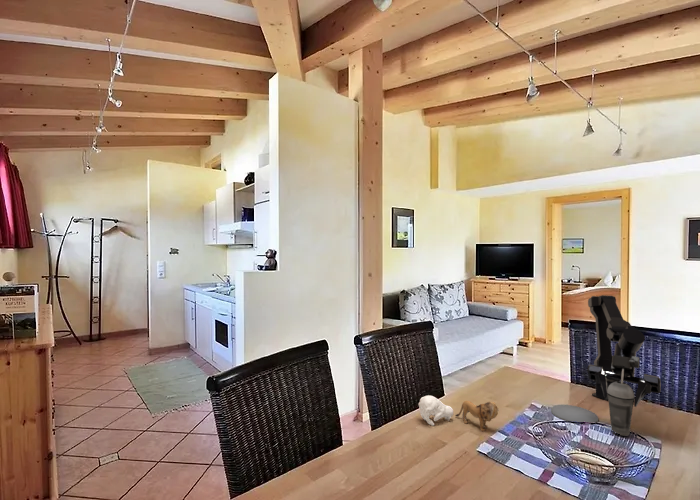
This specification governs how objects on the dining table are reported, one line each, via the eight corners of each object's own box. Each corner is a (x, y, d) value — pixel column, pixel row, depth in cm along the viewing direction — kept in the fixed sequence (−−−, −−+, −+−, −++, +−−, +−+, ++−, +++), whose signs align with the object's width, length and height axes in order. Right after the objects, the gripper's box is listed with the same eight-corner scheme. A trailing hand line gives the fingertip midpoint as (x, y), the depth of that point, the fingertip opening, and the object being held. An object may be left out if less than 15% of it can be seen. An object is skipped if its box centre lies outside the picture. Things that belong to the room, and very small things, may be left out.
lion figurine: (501, 429, 120) (501, 401, 120) (493, 435, 116) (494, 406, 116) (459, 415, 131) (459, 389, 131) (450, 420, 127) (451, 393, 127)
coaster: (566, 404, 141) (566, 401, 141) (606, 418, 128) (606, 416, 128) (542, 411, 134) (542, 409, 134) (583, 428, 122) (583, 425, 122)
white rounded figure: (417, 392, 127) (448, 392, 131) (415, 418, 127) (446, 417, 131) (426, 400, 121) (459, 399, 125) (424, 427, 121) (456, 425, 125)
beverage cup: (625, 427, 121) (625, 364, 121) (640, 438, 114) (641, 372, 114) (601, 426, 122) (601, 363, 122) (614, 437, 114) (615, 371, 114)
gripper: (588, 340, 127) (581, 382, 118) (660, 350, 114) (658, 398, 106) (592, 358, 133) (586, 399, 124) (661, 370, 120) (659, 416, 112)
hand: (620, 402), depth 117 cm, fingers closed on beverage cup, 7 cm apart
